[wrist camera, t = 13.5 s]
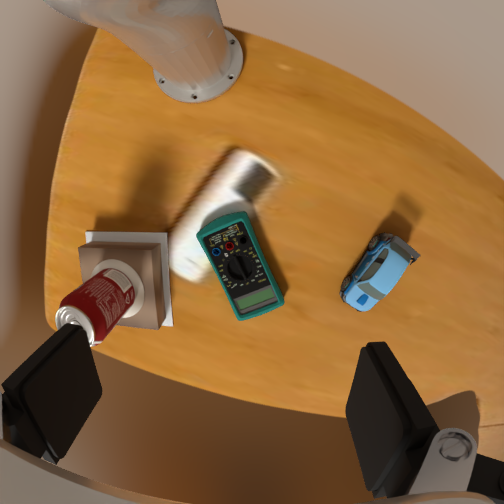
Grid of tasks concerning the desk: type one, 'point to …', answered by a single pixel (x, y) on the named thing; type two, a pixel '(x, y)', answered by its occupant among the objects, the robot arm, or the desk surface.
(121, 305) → the soda can
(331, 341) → the desk surface
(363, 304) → the toy car
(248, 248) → the digital multimeter
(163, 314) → the plinth
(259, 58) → the desk surface
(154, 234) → the white square slab
